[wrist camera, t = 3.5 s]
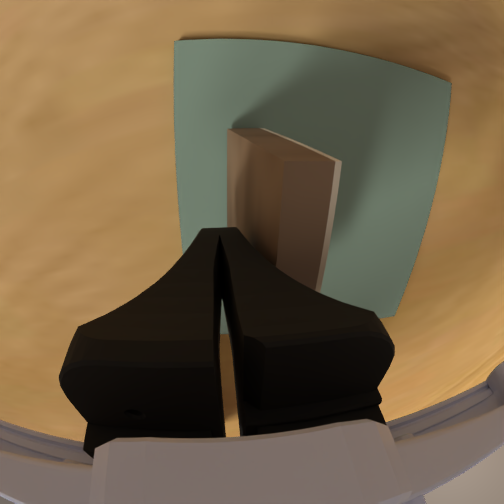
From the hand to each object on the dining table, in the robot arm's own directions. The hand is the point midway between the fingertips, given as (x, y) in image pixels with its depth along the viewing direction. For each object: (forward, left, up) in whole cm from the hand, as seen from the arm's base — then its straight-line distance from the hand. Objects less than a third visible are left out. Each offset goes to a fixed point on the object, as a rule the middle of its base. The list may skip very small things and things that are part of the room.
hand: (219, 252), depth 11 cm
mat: (0, -5, -4) cm, 6 cm away
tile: (0, -1, -3) cm, 4 cm away
